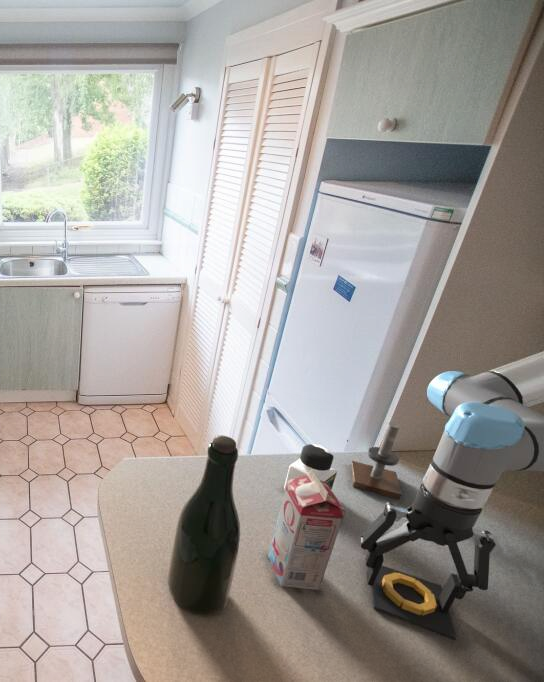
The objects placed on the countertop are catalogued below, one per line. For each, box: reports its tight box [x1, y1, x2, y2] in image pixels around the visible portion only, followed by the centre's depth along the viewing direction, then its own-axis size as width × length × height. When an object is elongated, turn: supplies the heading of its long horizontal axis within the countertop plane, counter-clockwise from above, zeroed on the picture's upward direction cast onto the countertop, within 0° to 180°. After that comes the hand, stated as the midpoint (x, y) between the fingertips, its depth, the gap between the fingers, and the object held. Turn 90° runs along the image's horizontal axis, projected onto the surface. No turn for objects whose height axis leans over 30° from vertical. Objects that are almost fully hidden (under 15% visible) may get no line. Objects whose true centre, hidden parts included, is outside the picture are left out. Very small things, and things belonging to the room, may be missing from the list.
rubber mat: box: [367, 565, 457, 640], centre depth 80 cm, size 11×11×1 cm
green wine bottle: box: [167, 435, 241, 617], centre depth 76 cm, size 10×10×33 cm
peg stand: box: [350, 422, 403, 501], centre depth 105 cm, size 9×9×16 cm
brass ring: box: [382, 572, 437, 616], centre depth 80 cm, size 7×7×1 cm
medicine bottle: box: [283, 443, 338, 491], centre depth 103 cm, size 7×7×12 cm
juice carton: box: [267, 467, 346, 591], centre depth 81 cm, size 7×7×22 cm
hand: (404, 592), depth 81 cm, fingers open, 10 cm apart
